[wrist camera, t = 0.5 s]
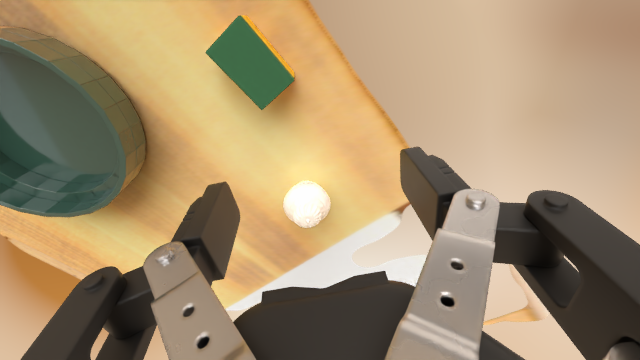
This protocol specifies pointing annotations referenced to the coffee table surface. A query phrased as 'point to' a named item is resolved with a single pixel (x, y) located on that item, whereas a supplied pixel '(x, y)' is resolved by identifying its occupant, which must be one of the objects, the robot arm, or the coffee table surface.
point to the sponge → (251, 62)
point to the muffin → (306, 204)
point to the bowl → (62, 129)
